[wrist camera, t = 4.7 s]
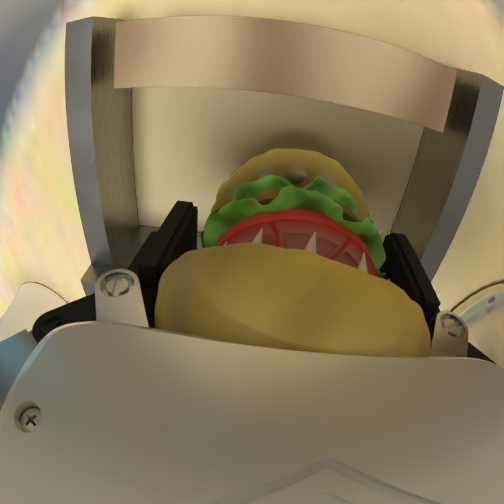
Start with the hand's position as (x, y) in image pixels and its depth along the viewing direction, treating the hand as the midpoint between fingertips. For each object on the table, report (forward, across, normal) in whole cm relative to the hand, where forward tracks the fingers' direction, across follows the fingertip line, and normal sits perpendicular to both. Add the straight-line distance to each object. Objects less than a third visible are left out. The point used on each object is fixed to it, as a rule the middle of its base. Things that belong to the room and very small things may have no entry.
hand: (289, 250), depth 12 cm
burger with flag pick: (+4, 0, 0) cm, 4 cm away
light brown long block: (+7, +1, -7) cm, 10 cm away
